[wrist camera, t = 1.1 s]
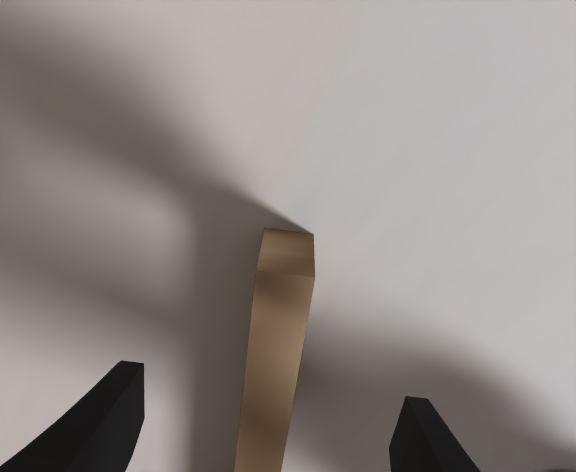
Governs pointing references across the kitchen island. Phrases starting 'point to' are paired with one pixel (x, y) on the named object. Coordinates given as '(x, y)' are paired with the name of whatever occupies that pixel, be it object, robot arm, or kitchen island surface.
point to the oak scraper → (274, 347)
